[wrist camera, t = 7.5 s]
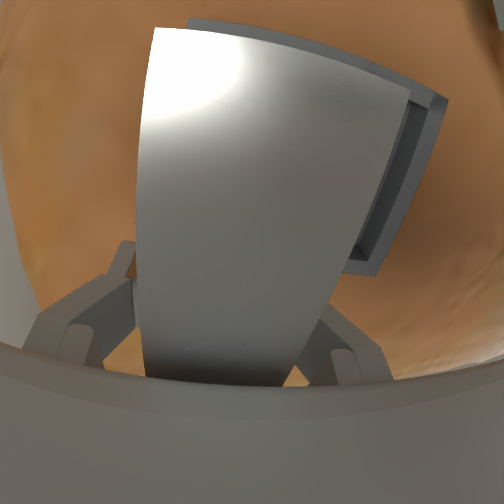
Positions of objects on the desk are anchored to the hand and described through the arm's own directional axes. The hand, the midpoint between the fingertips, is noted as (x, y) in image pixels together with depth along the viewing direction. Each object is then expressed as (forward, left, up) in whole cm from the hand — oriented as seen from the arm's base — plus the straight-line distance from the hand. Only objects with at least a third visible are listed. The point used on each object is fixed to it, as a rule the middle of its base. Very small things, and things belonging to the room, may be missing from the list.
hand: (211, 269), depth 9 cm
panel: (0, 0, -3) cm, 3 cm away
